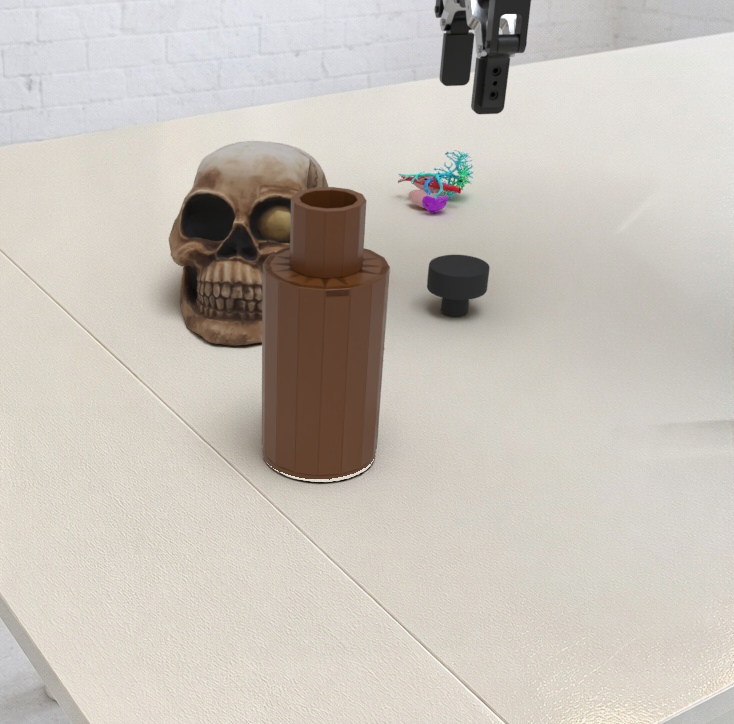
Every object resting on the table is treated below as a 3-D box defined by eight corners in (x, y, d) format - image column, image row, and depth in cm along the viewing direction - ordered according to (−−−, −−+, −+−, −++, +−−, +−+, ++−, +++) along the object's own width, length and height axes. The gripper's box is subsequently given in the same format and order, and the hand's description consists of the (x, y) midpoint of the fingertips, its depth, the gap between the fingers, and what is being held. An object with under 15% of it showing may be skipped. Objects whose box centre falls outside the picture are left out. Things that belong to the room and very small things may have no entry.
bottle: (362, 422, 77) (378, 175, 68) (386, 479, 71) (407, 217, 62) (255, 429, 77) (256, 181, 67) (270, 487, 71) (273, 223, 61)
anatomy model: (382, 162, 112) (446, 163, 108) (417, 143, 117) (478, 144, 114) (384, 213, 114) (447, 217, 111) (418, 193, 120) (479, 195, 116)
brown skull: (215, 352, 86) (209, 173, 80) (133, 296, 100) (123, 139, 94) (389, 321, 92) (396, 151, 86) (289, 272, 106) (289, 123, 100)
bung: (474, 298, 95) (479, 252, 92) (491, 321, 91) (497, 274, 89) (418, 301, 94) (422, 255, 92) (433, 325, 90) (437, 278, 88)
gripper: (591, -149, 69) (551, 121, 78) (517, -163, 81) (490, 74, 90) (472, -147, 68) (445, 126, 77) (414, -161, 80) (397, 77, 89)
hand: (469, 98), depth 84 cm, fingers open, 8 cm apart
